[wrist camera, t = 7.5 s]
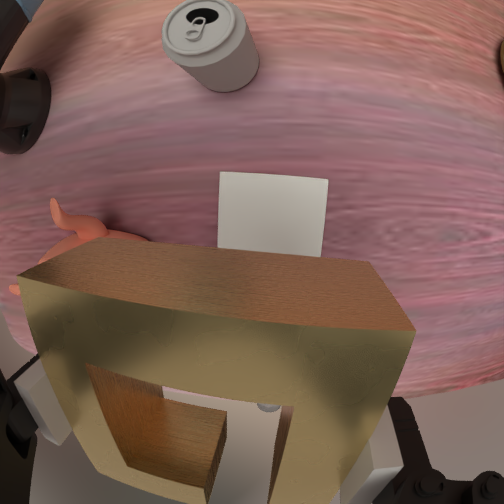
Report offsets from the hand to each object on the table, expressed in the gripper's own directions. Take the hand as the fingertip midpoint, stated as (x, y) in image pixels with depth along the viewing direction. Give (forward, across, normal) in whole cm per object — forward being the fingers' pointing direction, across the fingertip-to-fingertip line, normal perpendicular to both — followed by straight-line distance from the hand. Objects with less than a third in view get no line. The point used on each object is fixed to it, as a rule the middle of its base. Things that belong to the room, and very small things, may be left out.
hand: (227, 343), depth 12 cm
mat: (+23, 0, 0) cm, 23 cm away
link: (-2, 0, 0) cm, 2 cm away
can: (+23, -6, +19) cm, 31 cm away
